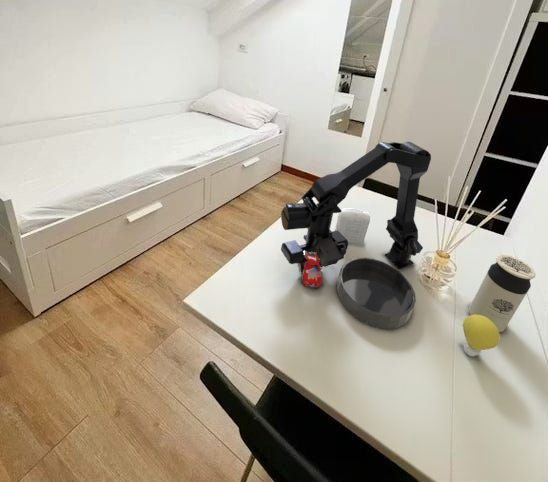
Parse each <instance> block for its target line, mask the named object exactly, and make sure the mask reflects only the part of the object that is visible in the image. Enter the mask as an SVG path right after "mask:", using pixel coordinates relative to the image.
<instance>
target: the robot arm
mask: <svg viewBox="0 0 548 482" xmlns="http://www.w3.org/2000/svg"><path fill="white" fill-rule="evenodd" d="M431 161H432V154H431V153H430V151H428V150H427V149H425V148H423V147H421V146H419V145H417V144H416V143H414V142H411V141H405V142H396V141H392V142H386V141H381V142H378V143H377V144H376V145H375V147H374V148H372V149H371V150H370V151H368V152H367V153H366V154H363V156H360V157H359V158H358V159H356V160H355V161H354V162H352V163H351V164H349V165H347V166H346V167H345V168H343V169H341V171H338V172H335V173H330V174H326V175H324V176H322V177H320V178H318V179H316V180H315V181H314V182H313V183H312V185H311V187H310V188H309V189H308V190H307V191H306V192H305V193H304V194H303V195H302V197H301V201H302V202H299V203H292V202H288V203H285V206H283V208H282V210H281V211H280V213H281V214H280V219H281V226H282V228H283V229H284V231H291V230H292V231H293V230H303V229H307V231H306V234H303V240H304V241H305V243H304V244H299V243H298V241H296V239H295V240H291V241H286V242H282V244H281V248H280V251H281V253H282V255H283V256H284V257H285V260H287V262H288V264H290V265H295V264H296V265H297V267H298V271H299V273H300V274H302V273H303V270H304V264H305V262H307V261H308V260H307V259H306V257H305V255H306V253H309V252H313V253H314V252H316V254H317V256H318V258H319V262H320V268H323V267H325V268H328V267H329V266H332V265H337V264H338V262H339V261H340V260H343V259H345V255H346V254H347V250H348V248H349V243H348V240H347V239H346V238H345V237H344V236H343V235H342V234H341V233H340V232H339V231H338V230H337V231H335V230H334V231H332V230H331V225H332V221H333V216H334V214H339V213H341V209H342V208H340V206H339V204H340V203H342V201H344V200H345V199H346V198H347V195H348V193H349V191H350V190H351V189H353V188H354V187H355V186H356V185H358V184H360V183H361V182H363V181H364V180H365V179H367V178H368V177H370V176H371V175H373V174H374V173H376V172H377V171H379V170H380V169H381V168H383V167H385V166H387V165H388V164H389V163H391V164H396V167H397V169H398V173H399V181H398V182H399V183H398V192H397V200H396V210H395V215H394V216H393V217H392V218H390V219H387V221H386V223H387V225H386V228H385V230H386V231H387V233H388V235H389V237H390V238H391V239H392V240H393V243H392V245H391V248H390V249H389V252H386V253H384V257H385V258H386V259H388V261H389V262H391V263H392V264H393V265H394V266H395V267H396V269H397V270H398V269H399V270H401V269H405V268H408V267H411V266H413V265H414V264H415V263H414V261H413V260H411V258H412V256H413V257H414V256H416V255H417V254H420V253H421V252H422V250H423V248H424V247H423V245H422V244H421V243H420V242H419V241H418V240H419V230H418V227H417V224H416V221H415V216H416V215H415V214H416V209H417V208H416V207H417V201H418V195H419V187H420V181H421V177H422V176H424V175H425V174H426V173H427V172H428V170H429V167H430V164H431ZM313 199H315V200H316V202H317V203H316V202H315V201H314V200H313Z"/></svg>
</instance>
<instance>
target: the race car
mask: <svg viewBox="0 0 548 482" xmlns="http://www.w3.org/2000/svg"><path fill="white" fill-rule="evenodd" d="M305 257H306V259H307V260H308V261H307V262H305V264H304V270H303V273H301V277H302V280H301V281H302V285H304V286H306V287H308V288H311V289H317V288H319V287H321V286H322V282H323V277H322V270H323V267H321V266H320V262H319V258H318V256H317V254H316V252H314V253H313V252H309V253H306V255H305Z"/></svg>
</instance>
